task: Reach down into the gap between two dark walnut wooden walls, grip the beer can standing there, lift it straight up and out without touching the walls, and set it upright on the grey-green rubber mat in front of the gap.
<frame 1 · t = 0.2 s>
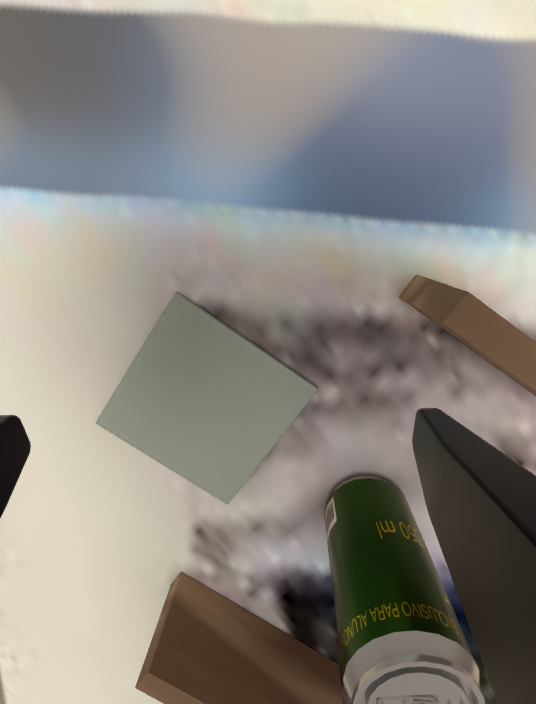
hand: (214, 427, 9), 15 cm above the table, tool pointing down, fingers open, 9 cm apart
mat: (204, 404, 26), on the table
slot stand: (364, 507, 27), on the table
beer can: (364, 505, 27), on the table
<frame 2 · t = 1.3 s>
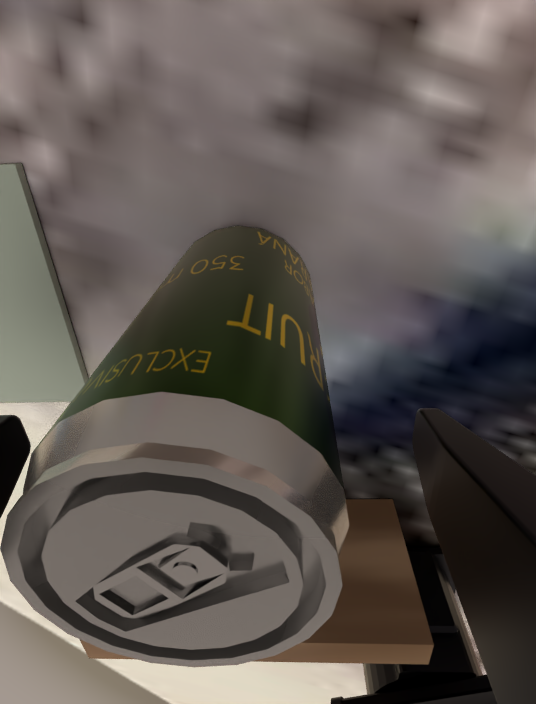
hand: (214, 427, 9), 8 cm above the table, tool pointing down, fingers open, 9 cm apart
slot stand: (244, 290, 16), on the table
beer can: (244, 288, 17), on the table
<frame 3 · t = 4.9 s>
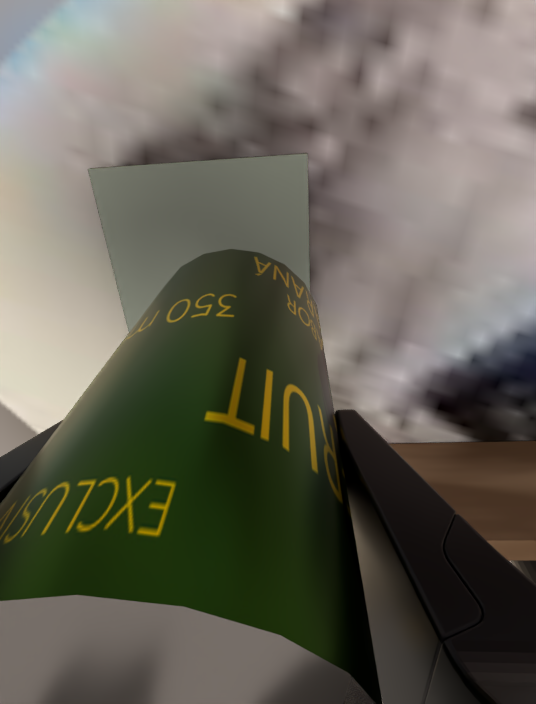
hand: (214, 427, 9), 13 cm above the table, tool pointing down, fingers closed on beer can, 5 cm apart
mat: (211, 267, 21), on the table
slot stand: (462, 254, 20), on the table
beer can: (240, 318, 14), point 7 cm above the table, touching gripper
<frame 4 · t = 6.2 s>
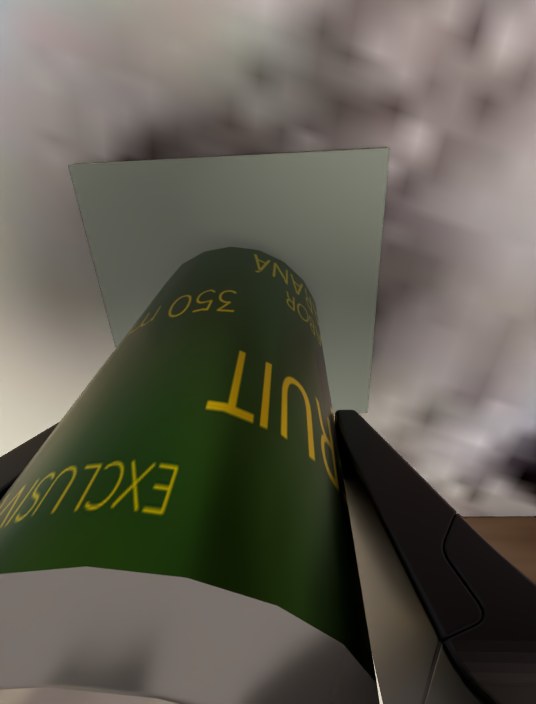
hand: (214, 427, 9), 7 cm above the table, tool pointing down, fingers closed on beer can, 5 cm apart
mat: (239, 302, 15), on the table
beer can: (240, 315, 15), point 1 cm above the table, touching gripper
when the fingers open (7 cm above the table, at t = 7.1 s): beer can stays where it is, resting on mat.
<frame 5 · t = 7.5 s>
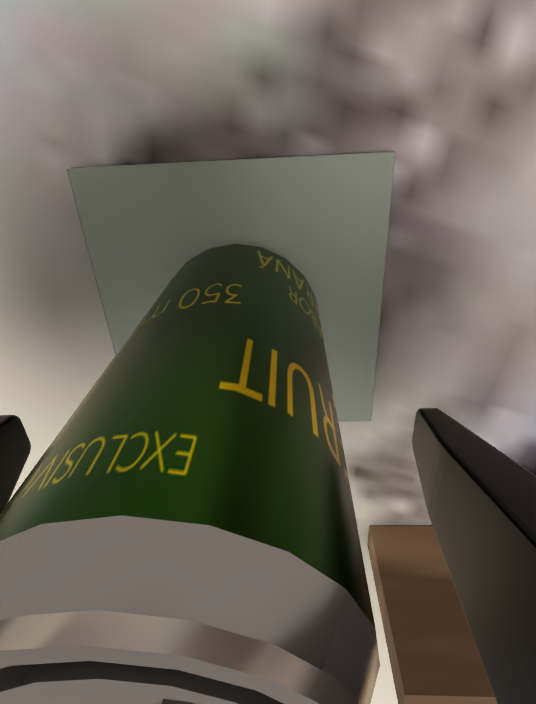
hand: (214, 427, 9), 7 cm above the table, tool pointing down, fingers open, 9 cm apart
mat: (241, 308, 15), on the table
beer can: (243, 310, 15), resting on mat
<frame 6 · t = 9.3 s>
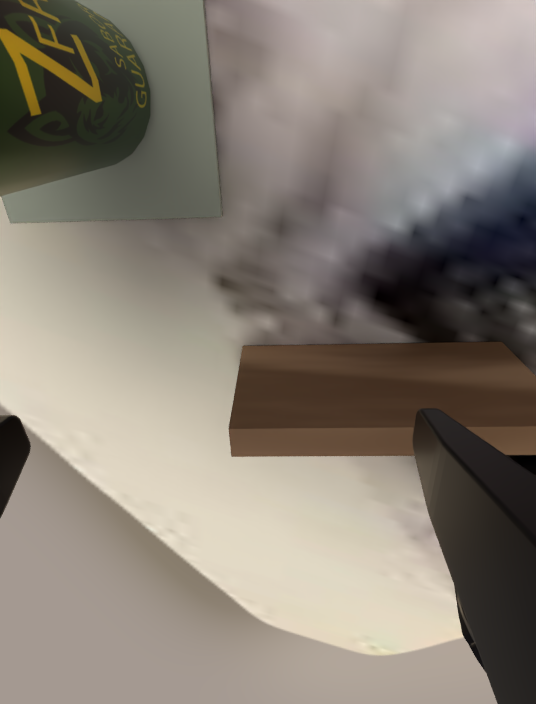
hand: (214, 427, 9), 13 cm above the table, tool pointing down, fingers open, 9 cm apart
mat: (92, 94, 17), on the table
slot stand: (396, 81, 17), on the table
beer can: (91, 94, 17), resting on mat
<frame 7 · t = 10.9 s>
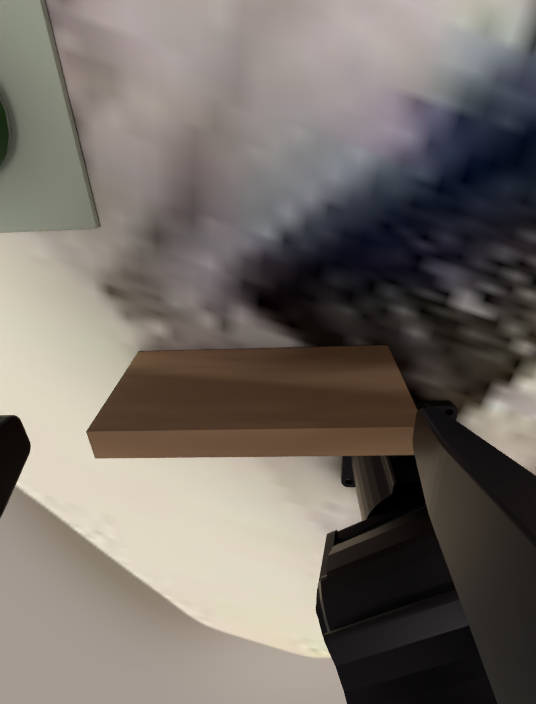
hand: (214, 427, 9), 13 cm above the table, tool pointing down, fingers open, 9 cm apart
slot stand: (243, 97, 17), on the table
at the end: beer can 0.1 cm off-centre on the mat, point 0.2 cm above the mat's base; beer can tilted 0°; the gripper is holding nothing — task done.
